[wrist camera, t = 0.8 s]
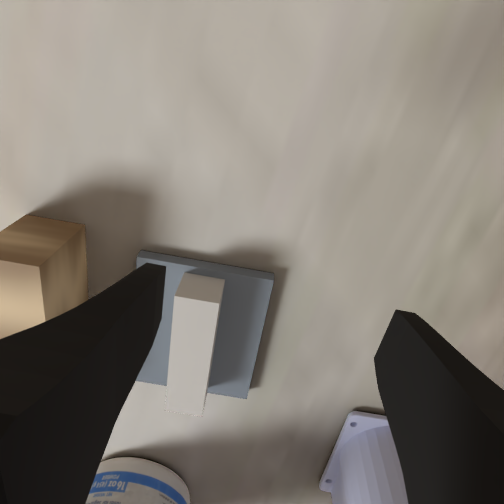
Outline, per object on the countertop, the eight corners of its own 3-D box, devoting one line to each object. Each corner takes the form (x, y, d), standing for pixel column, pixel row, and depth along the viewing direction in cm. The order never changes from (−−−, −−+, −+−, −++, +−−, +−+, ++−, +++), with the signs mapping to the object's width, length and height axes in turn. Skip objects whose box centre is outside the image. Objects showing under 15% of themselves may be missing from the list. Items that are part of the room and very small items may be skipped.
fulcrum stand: (247, 390, 28) (243, 429, 25) (137, 371, 27) (120, 408, 25) (273, 273, 23) (273, 305, 20) (141, 250, 23) (121, 278, 20)
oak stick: (93, 371, 28) (58, 432, 24) (46, 364, 28) (2, 423, 24) (86, 223, 22) (38, 266, 18) (27, 213, 22) (-34, 254, 18)
